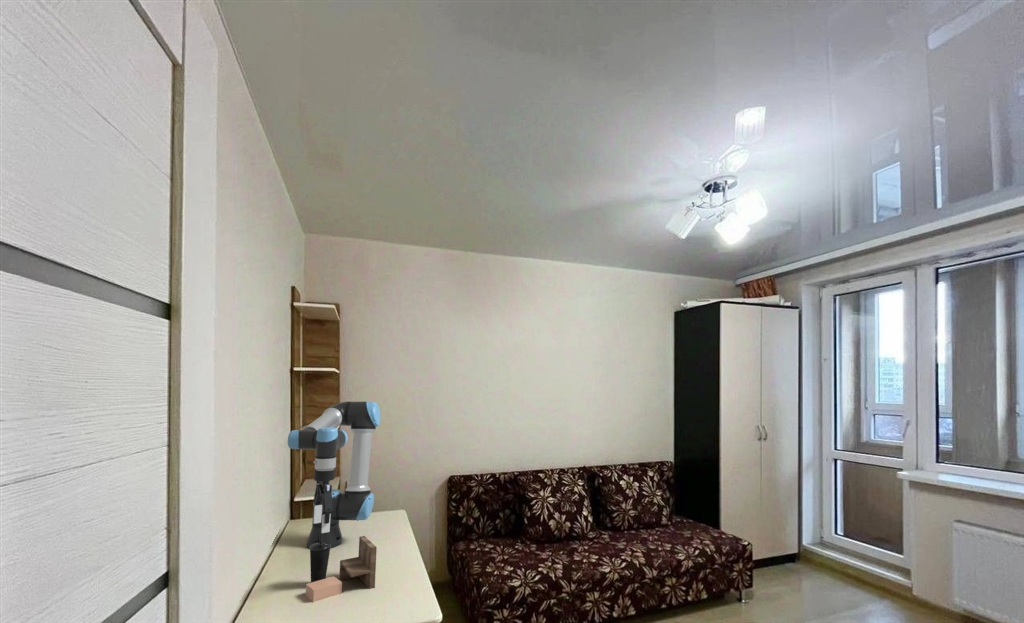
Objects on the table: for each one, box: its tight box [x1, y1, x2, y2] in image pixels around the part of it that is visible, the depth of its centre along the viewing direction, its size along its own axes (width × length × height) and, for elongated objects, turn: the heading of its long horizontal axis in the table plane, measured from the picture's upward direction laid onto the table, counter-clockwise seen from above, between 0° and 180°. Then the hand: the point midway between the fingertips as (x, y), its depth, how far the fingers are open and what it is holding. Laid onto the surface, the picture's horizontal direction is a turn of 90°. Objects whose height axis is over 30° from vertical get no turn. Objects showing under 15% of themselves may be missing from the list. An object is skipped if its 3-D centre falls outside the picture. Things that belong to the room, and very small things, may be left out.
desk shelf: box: [338, 535, 378, 589], centre depth 180 cm, size 15×9×14 cm, turn 34°
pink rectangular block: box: [305, 575, 343, 603], centre depth 170 cm, size 7×10×4 cm
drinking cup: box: [308, 528, 331, 583], centre depth 178 cm, size 8×8×20 cm
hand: (321, 527), depth 179 cm, fingers open, 13 cm apart
